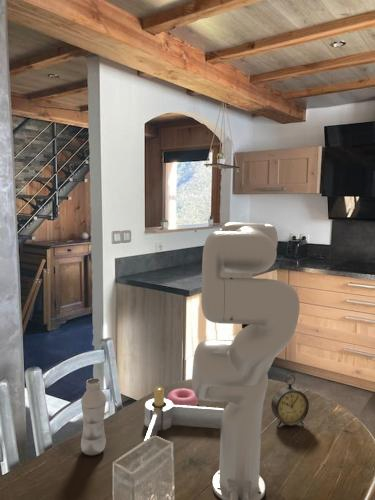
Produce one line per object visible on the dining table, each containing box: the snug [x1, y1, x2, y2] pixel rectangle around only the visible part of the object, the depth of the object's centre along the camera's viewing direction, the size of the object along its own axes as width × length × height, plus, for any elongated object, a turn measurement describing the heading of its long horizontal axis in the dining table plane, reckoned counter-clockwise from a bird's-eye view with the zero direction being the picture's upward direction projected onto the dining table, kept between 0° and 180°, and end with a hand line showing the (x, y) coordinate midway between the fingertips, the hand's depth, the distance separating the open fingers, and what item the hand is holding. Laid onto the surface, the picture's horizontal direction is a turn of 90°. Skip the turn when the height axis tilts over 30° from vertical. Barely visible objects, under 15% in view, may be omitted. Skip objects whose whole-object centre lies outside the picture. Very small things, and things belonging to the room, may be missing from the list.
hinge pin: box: [153, 386, 165, 408], centre depth 127 cm, size 3×3×11 cm
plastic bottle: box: [80, 377, 107, 456], centre depth 111 cm, size 6×7×20 cm
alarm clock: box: [270, 374, 310, 429], centre depth 127 cm, size 11×5×16 cm, turn 104°
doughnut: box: [166, 387, 200, 406], centre depth 139 cm, size 11×11×4 cm
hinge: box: [143, 397, 225, 442], centre depth 118 cm, size 24×24×6 cm
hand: (234, 323), depth 119 cm, fingers open, 9 cm apart
